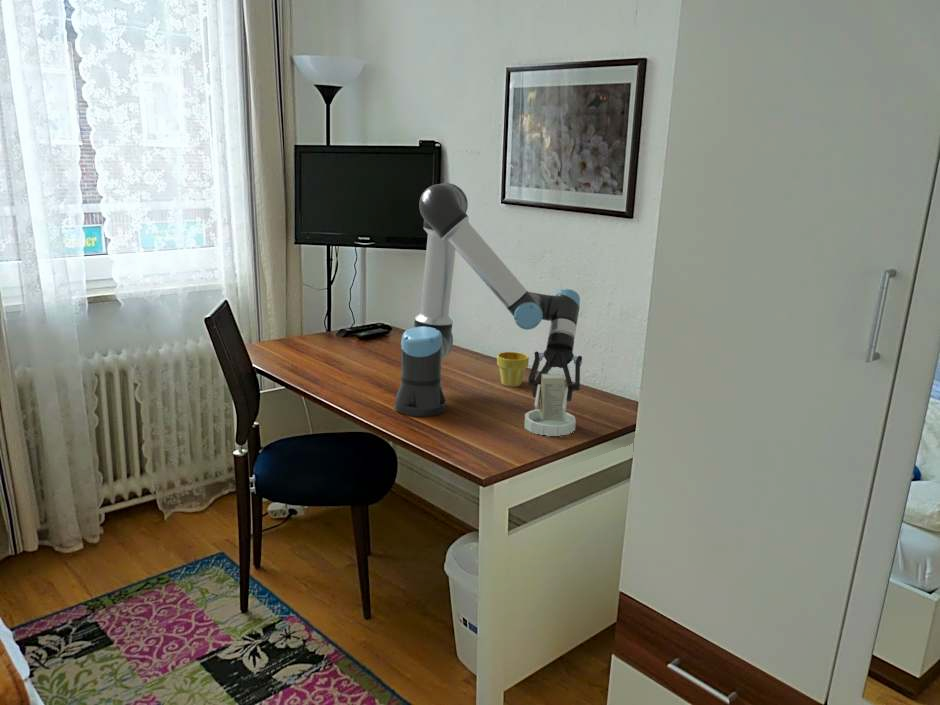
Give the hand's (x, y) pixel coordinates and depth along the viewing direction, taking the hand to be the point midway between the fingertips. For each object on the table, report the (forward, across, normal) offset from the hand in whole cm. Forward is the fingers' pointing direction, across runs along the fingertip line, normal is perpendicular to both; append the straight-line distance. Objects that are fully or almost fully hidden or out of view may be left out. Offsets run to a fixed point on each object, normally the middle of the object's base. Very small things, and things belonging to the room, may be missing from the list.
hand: (549, 408), depth 201 cm
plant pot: (-24, +18, -34) cm, 45 cm away
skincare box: (0, 0, -5) cm, 5 cm away
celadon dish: (+2, 0, -7) cm, 7 cm away
